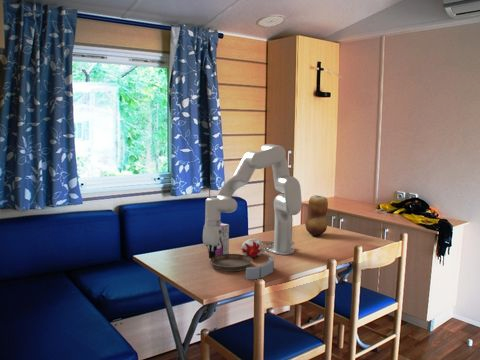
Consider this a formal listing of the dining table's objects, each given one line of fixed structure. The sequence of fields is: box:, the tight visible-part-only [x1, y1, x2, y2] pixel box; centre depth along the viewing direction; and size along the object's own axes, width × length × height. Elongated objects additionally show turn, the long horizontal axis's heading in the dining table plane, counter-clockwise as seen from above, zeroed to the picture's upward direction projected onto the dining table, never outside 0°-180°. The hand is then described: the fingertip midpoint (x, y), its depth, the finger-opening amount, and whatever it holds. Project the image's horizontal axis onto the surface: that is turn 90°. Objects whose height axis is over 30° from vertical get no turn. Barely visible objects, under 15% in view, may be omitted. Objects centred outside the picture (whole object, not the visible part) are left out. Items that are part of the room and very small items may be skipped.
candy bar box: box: [207, 222, 230, 256], centre depth 229 cm, size 11×5×16 cm, turn 51°
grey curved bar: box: [245, 256, 275, 281], centre depth 201 cm, size 21×5×5 cm, turn 144°
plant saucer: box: [209, 253, 253, 272], centre depth 211 cm, size 21×21×3 cm
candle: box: [240, 238, 263, 258], centre depth 225 cm, size 9×11×15 cm
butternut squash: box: [304, 194, 329, 237], centre depth 269 cm, size 14×13×25 cm
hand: (212, 257), depth 218 cm, fingers closed
